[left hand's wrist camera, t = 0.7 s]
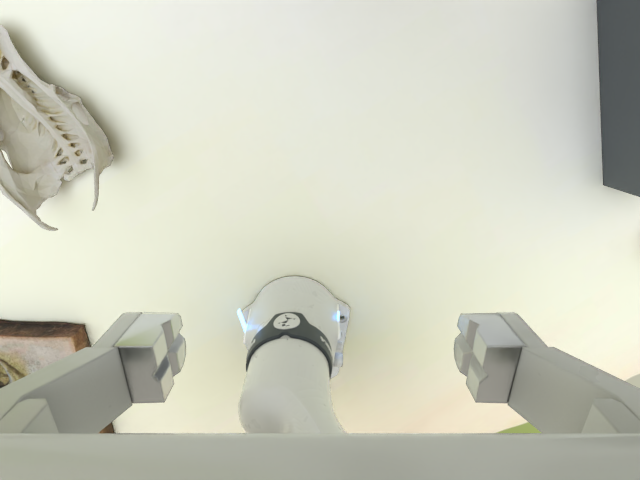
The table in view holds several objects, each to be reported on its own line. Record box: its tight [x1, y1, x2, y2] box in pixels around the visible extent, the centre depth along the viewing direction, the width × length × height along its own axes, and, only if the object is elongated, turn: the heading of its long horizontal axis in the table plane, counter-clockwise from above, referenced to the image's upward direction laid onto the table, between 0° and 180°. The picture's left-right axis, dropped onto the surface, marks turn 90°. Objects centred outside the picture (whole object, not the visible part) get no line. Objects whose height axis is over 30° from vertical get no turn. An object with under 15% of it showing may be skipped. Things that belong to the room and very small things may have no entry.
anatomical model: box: [0, 24, 114, 231], centre depth 46 cm, size 15×9×25 cm
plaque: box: [0, 320, 114, 433], centre depth 65 cm, size 30×7×30 cm
